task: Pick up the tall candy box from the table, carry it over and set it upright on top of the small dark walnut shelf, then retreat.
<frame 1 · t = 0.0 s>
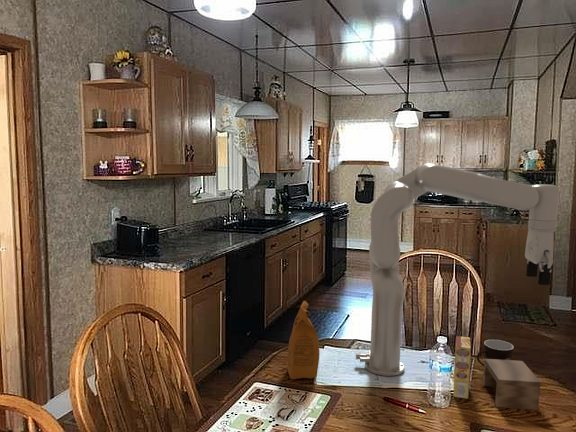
hand: (537, 280, 154), 31 cm above the table, tool pointing down, fingers open, 9 cm apart
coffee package: (302, 373, 159), on the table
coffee mug: (491, 375, 160), on the table
walnut shelf: (509, 396, 146), on the table
candy box: (460, 392, 148), on the table
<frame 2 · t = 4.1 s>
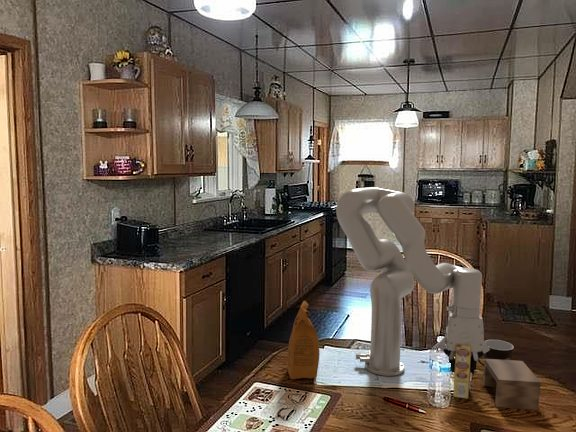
hand: (461, 370, 147), 6 cm above the table, tool pointing down, fingers closed on candy box, 4 cm apart
candy box: (460, 392, 148), on the table, touching gripper
everything else where it was.
when the fingers open (16 cm above the table, at t = 10.8 s): candy box drops 1 cm, resting on walnut shelf.
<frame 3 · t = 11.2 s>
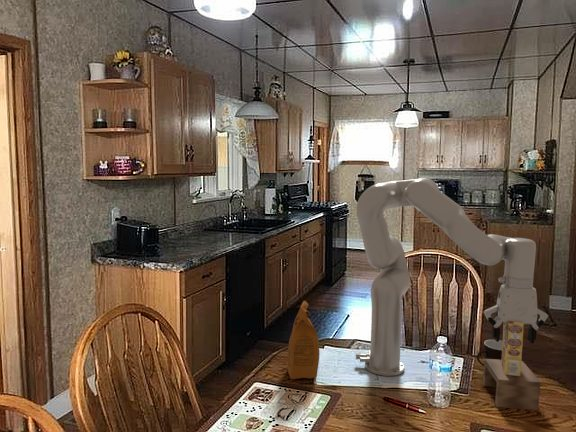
hand: (513, 340, 144), 17 cm above the table, tool pointing down, fingers open, 9 cm apart
candy box: (510, 370, 145), point 8 cm above the table, touching walnut shelf
everything else where it was.
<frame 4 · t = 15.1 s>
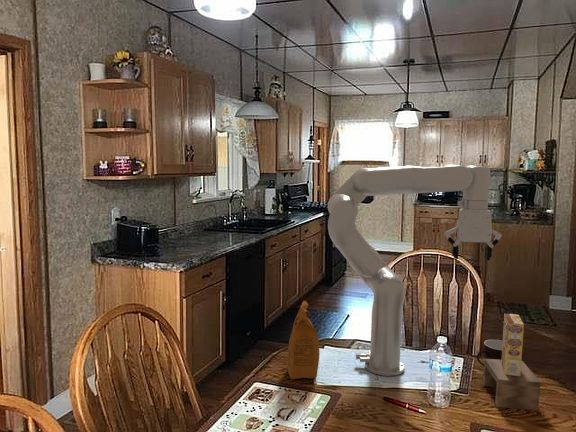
hand: (471, 258, 160), 36 cm above the table, tool pointing down, fingers open, 9 cm apart
nothing on the table moved.
at the end: candy box inside the target area on the walnut shelf (0.3 cm from its centre), point 7.8 cm above the walnut shelf's base; candy box tilted 0°; the gripper is holding nothing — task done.
